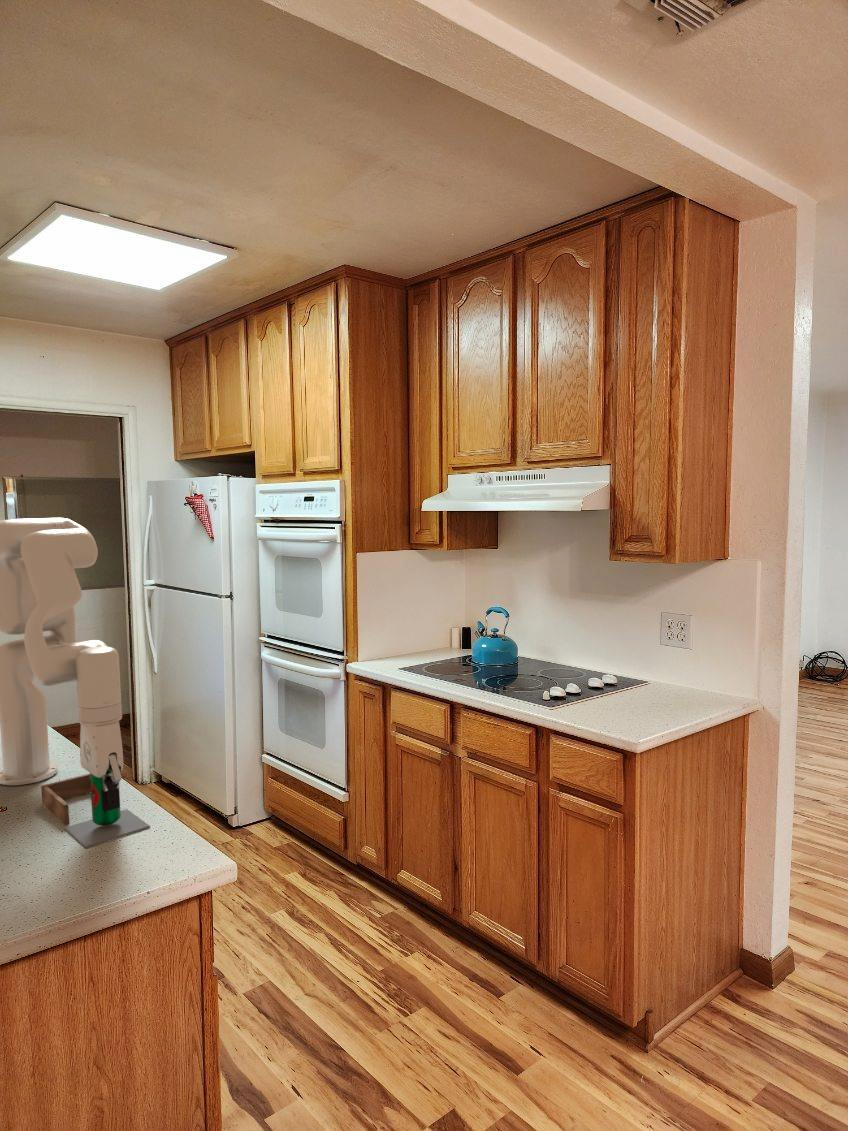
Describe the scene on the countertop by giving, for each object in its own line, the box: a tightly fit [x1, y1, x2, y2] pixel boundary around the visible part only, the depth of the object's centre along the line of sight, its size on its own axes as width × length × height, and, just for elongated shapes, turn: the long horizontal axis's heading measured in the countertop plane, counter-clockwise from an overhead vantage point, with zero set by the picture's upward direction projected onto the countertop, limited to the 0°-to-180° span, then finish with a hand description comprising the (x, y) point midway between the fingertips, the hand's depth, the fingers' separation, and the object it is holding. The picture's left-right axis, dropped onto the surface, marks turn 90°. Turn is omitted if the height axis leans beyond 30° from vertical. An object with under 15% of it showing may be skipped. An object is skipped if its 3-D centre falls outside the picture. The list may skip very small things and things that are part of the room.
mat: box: [64, 808, 151, 849], centre depth 146 cm, size 11×12×1 cm
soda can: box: [90, 770, 122, 825], centre depth 146 cm, size 5×5×12 cm
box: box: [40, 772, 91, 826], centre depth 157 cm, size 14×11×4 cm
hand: (105, 804), depth 146 cm, fingers closed on soda can, 4 cm apart
